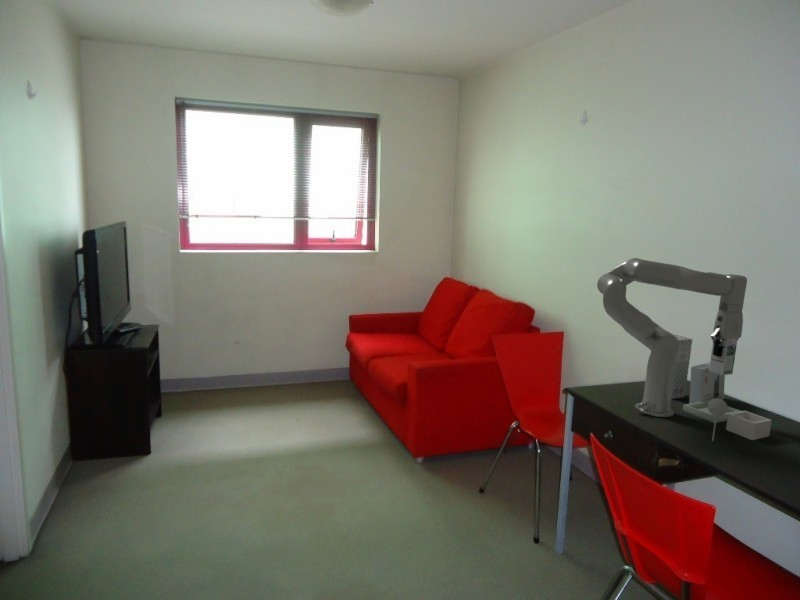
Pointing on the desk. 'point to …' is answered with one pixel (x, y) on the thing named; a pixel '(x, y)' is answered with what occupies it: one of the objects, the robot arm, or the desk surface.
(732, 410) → the tray
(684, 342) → the box
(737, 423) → the white open storage bin
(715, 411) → the lollipop
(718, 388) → the skincare box
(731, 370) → the syrup box
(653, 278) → the robot arm
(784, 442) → the desk surface
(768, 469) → the desk surface
